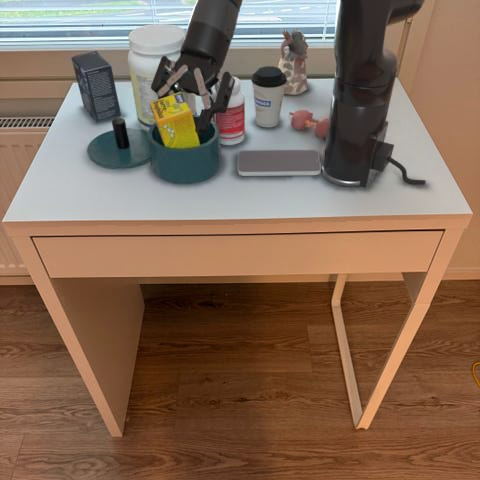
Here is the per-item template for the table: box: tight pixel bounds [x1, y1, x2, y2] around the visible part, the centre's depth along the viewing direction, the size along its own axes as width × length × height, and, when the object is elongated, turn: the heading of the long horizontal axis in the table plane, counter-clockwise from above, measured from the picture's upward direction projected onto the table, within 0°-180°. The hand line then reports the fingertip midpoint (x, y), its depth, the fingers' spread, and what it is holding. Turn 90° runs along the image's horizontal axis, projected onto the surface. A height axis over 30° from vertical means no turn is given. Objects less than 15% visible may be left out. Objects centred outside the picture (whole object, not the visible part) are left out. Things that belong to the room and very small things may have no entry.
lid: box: [86, 117, 151, 169], centre depth 92 cm, size 14×14×6 cm
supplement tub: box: [127, 23, 198, 131], centre depth 95 cm, size 12×12×17 cm
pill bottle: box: [212, 76, 246, 146], centre depth 93 cm, size 6×6×11 cm
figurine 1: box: [277, 28, 309, 96], centre depth 107 cm, size 7×7×12 cm
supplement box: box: [149, 92, 200, 149], centre depth 85 cm, size 6×6×11 cm
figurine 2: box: [288, 109, 329, 139], centre depth 98 cm, size 12×3×7 cm
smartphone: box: [237, 149, 322, 177], centre depth 90 cm, size 7×1×15 cm
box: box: [70, 50, 122, 123], centre depth 101 cm, size 8×6×11 cm
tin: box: [147, 114, 222, 185], centre depth 89 cm, size 13×13×6 cm
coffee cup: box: [250, 65, 287, 128], centre depth 97 cm, size 7×7×10 cm
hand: (178, 127), depth 85 cm, fingers closed on supplement box, 8 cm apart
